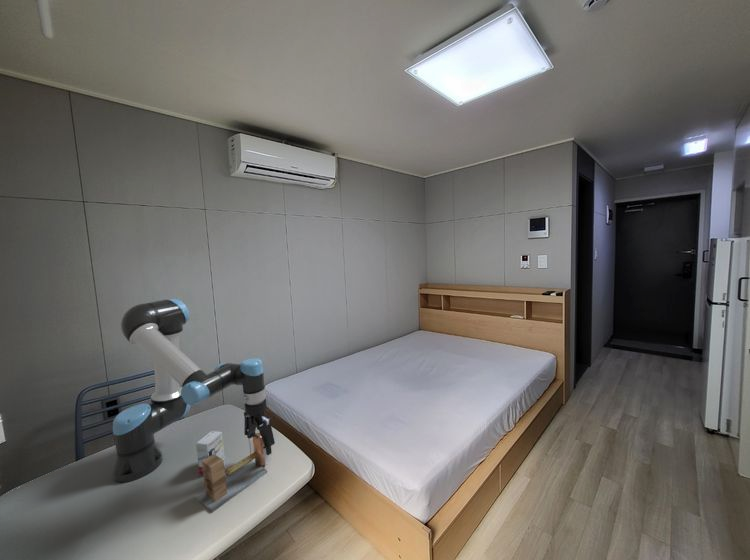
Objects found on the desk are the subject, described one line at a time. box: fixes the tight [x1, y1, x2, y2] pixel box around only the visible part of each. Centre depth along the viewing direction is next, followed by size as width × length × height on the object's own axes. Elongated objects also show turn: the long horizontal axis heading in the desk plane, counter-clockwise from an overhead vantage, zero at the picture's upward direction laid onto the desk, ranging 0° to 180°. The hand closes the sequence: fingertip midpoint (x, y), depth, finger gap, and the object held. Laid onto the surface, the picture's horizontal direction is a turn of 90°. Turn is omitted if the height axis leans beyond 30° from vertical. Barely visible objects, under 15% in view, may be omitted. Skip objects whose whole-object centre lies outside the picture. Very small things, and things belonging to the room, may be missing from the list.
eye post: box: [196, 454, 268, 513], centre depth 105 cm, size 10×20×13 cm, turn 145°
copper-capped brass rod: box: [224, 432, 266, 477], centre depth 109 cm, size 4×15×11 cm, turn 145°
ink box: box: [195, 430, 226, 474], centre depth 116 cm, size 9×5×12 cm, turn 168°
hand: (261, 457), depth 114 cm, fingers open, 8 cm apart
